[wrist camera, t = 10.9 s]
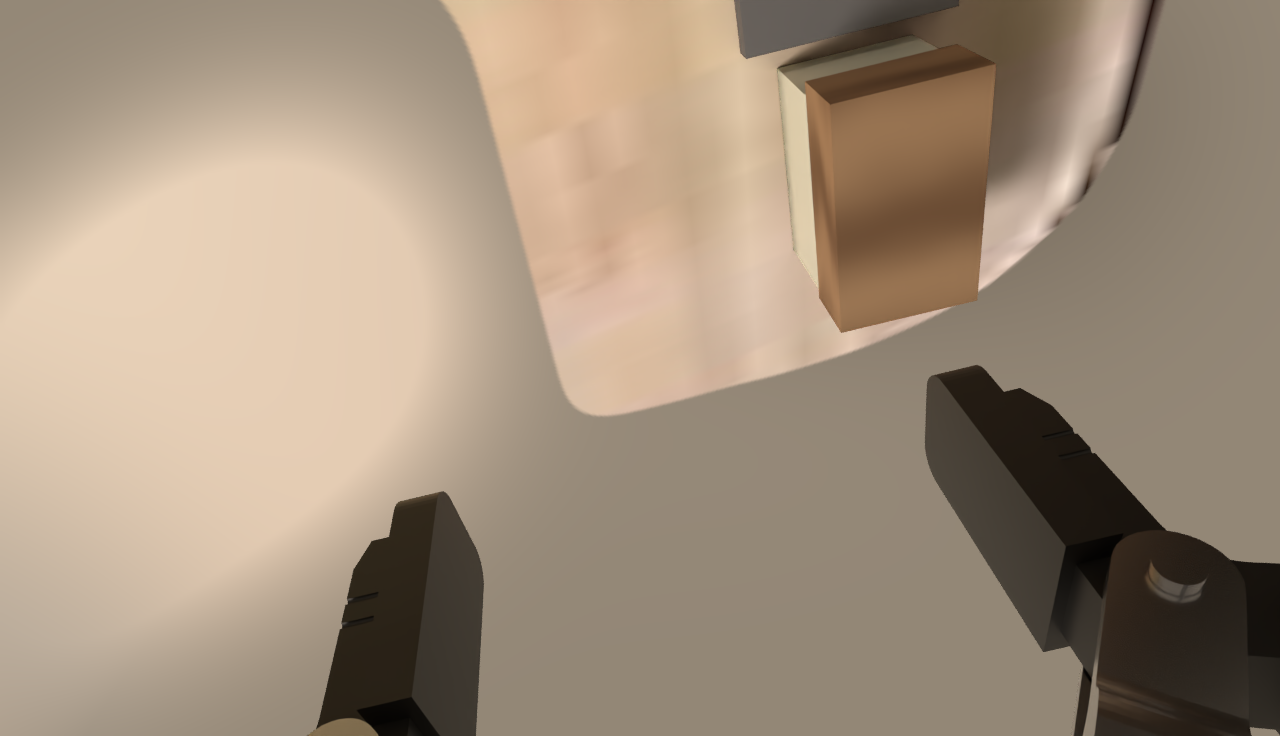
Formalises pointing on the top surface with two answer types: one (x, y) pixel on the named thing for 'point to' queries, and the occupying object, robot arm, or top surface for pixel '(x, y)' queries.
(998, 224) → the top surface
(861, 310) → the lid
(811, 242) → the dish
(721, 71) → the top surface
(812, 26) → the mat
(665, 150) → the top surface
